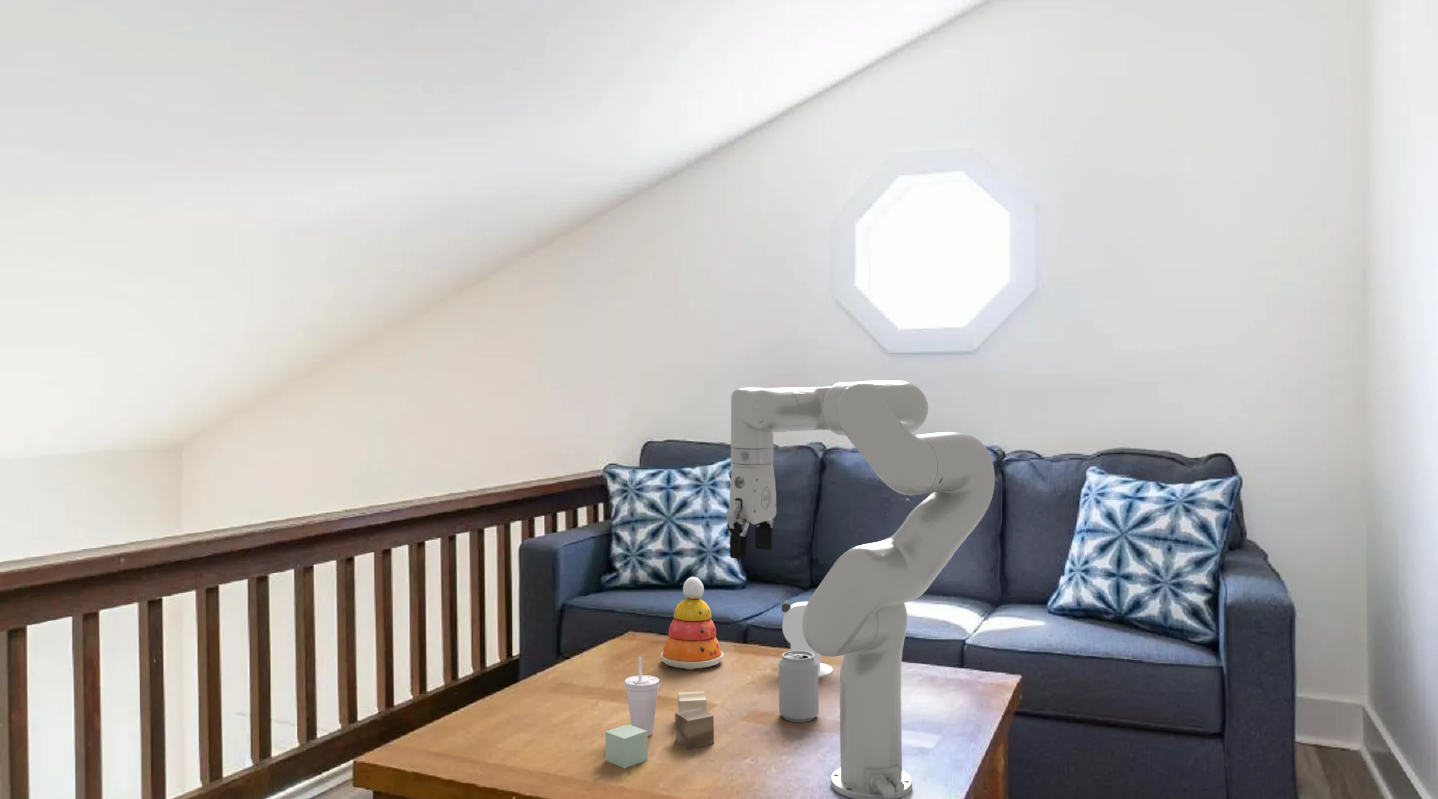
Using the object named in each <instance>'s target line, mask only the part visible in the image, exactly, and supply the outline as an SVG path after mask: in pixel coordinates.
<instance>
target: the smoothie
mask: <svg viewBox="0 0 1438 799" xmlns="http://www.w3.org/2000/svg"><path fill="white" fill-rule="evenodd" d="M642 659H643V658H642V656H639V657H638V675H633V676H629V677H628V678H626V679H625V680H624V688H625V689H626V695H627V701H628V702H627V703H628V709H629V717H630V723H631V724H630V725H632V726H635V727H638V728H640V729H643V730H646V731H647V737H649V736H652V735H653V734H654V728H655V727H654V726H655V716H656V707H657V699H658V698H657V697H658V691H659V690H658V688H659V687H660V685H661V684H660V679H659V678H658V677H657V676H654V675H648V674H647V675H646V674H645V675H643V665H642V664H643V662H642V661H643V660H642Z"/></svg>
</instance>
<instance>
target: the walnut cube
mask: <svg viewBox="0 0 1438 799" xmlns="http://www.w3.org/2000/svg"><path fill="white" fill-rule="evenodd" d="M674 714H675V717H674V718H675V719H674V720H675V724H674V725H675V726H674V727H675V730H674V732H675V741H677V742H678V743H679V744H681V745H682V746H684V747H685V748H686V749H688V750H691V749H695V748H700V747H705V746H709V745H713V744H715V733H714V732H715V730H714V729H715V725H714V724H715V721H714V720H715V718H714V717H715V716H714V715H713V714H711V713H709V712H708V711H707V712H706V711H704V710H703V709H701V708H697V709H692V710H687V711H682V712H678V711H677V712H675V713H674Z"/></svg>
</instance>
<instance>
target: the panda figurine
mask: <svg viewBox="0 0 1438 799" xmlns="http://www.w3.org/2000/svg"><path fill="white" fill-rule="evenodd" d="M781 603H782V604H781V611H782V612H783V613H784V614H783V618H782V619H783V620H782V633H783V636H784V638H785V640H786V641H787V645H788V648H789V649H790V651H808V652H811V653H813V654H814V655H815V657H814V658H815V659H816V661H817V662H818V678H822V677H827V676H829V675H831V674H833V672H834V671H833V667H832V666H830V665H829V664H828V663H827V664H826V663H822V655H820V654H818V653H817V652H815V651H814V650H812V649H811V648H810V647H809V645H808V644H807V642H806V640H805V638H804V635H803V630H802V618H803V613H804V610H805V607H806V605H807V603H808V601H798V602H795V603H792V602H791V601H790V600H787V599H786V600H783V601H782V602H781Z"/></svg>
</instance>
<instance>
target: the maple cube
mask: <svg viewBox="0 0 1438 799" xmlns="http://www.w3.org/2000/svg"><path fill="white" fill-rule="evenodd" d="M677 694H678V695H677V698H678V699H677V700H678V703H677V704H678V705H677V706H678V710H677V712H682V711H687V710H692V709H697V708H701V709H703V710H704V711H706V712H708V710H707V708H708V707H707V704H708V703H707V697H706V696H707V695H706V692H705V691H685V692H677Z"/></svg>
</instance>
